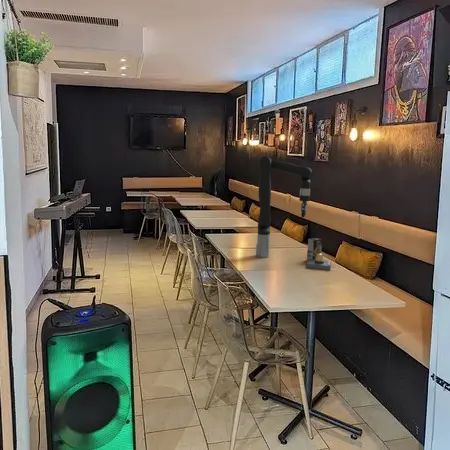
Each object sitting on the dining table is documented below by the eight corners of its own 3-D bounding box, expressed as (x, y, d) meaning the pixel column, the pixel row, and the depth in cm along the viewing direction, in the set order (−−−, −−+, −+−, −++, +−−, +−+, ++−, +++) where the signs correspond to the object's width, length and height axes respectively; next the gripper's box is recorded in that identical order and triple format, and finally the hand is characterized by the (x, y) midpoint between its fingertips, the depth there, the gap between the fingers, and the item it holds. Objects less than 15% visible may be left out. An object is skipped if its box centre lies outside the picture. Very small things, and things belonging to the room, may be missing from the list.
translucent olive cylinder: (315, 266, 322) (316, 254, 321) (316, 265, 326) (316, 253, 325) (321, 267, 321) (322, 254, 320) (322, 266, 325) (323, 253, 324)
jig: (306, 267, 318) (306, 262, 317) (308, 262, 333) (308, 257, 333) (330, 270, 314) (330, 265, 313) (330, 265, 329) (331, 260, 329)
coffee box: (313, 261, 338) (314, 240, 335) (306, 259, 343) (307, 238, 340) (321, 260, 344) (322, 239, 341) (314, 258, 348) (315, 237, 346)
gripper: (300, 193, 347) (299, 214, 349) (298, 195, 333) (297, 217, 336) (310, 194, 345) (309, 215, 347) (309, 195, 331) (307, 217, 334)
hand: (303, 216), depth 341 cm, fingers open, 8 cm apart
